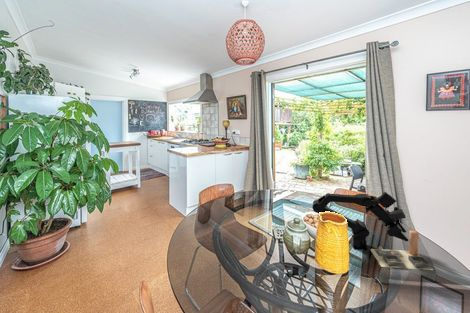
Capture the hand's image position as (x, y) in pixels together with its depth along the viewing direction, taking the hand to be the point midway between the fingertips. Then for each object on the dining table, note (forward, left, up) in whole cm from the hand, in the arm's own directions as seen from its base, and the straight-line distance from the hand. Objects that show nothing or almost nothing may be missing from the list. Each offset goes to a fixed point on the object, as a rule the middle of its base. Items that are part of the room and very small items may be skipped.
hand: (406, 236), depth 107 cm
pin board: (-6, -6, -10) cm, 13 cm away
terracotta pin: (+3, -1, -9) cm, 9 cm away
